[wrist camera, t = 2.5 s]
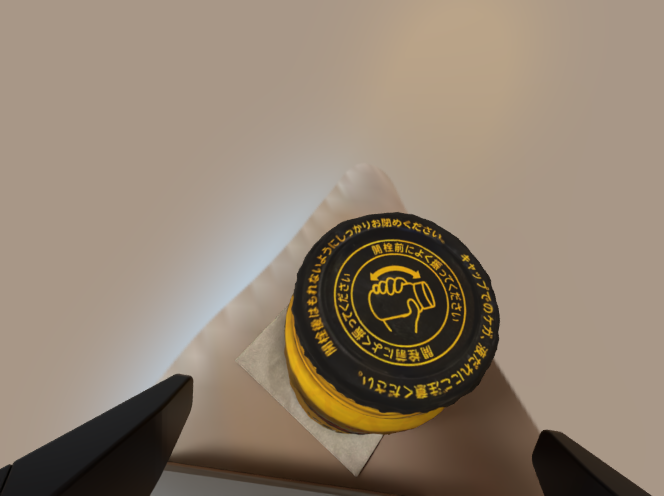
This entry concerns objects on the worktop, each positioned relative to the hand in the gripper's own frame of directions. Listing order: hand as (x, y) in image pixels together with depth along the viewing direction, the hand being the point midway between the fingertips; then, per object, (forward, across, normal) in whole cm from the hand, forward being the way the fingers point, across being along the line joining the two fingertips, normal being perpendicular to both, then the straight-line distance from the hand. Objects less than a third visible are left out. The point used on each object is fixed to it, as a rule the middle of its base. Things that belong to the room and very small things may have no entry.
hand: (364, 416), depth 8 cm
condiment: (+10, 0, +5) cm, 11 cm away
